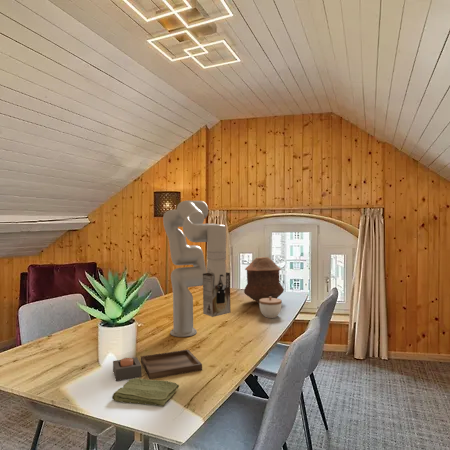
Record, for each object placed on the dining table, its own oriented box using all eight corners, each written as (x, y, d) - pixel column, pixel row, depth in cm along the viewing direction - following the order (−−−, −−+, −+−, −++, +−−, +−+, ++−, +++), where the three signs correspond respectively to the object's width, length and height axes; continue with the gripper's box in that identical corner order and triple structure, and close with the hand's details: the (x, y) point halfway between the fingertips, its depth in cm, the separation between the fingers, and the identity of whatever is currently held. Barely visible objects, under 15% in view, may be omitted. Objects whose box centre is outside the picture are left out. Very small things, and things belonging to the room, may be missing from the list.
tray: (140, 362, 144) (140, 356, 144) (188, 354, 151) (188, 349, 151) (149, 379, 128) (149, 373, 128) (202, 370, 135) (202, 364, 135)
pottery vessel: (283, 308, 227) (282, 259, 227) (241, 307, 232) (241, 259, 231) (284, 299, 253) (283, 255, 252) (246, 298, 257) (246, 255, 257)
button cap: (119, 367, 133) (119, 358, 133) (132, 365, 135) (132, 357, 135) (121, 371, 129) (121, 363, 129) (134, 369, 131) (134, 361, 131)
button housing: (113, 372, 135) (112, 360, 134) (137, 368, 138) (137, 357, 138) (115, 381, 127) (115, 369, 127) (141, 376, 130) (141, 365, 130)
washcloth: (165, 409, 108) (165, 398, 108) (110, 403, 112) (109, 392, 112) (180, 389, 121) (180, 379, 121) (130, 384, 125) (130, 375, 125)
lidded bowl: (279, 319, 202) (279, 299, 202) (256, 318, 206) (256, 298, 206) (283, 314, 214) (283, 295, 214) (262, 312, 218) (261, 293, 218)
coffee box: (220, 310, 152) (220, 270, 152) (230, 313, 147) (230, 272, 147) (202, 313, 146) (202, 273, 146) (212, 317, 142) (212, 275, 141)
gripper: (200, 254, 153) (200, 297, 153) (215, 258, 137) (216, 306, 137) (217, 253, 156) (217, 295, 156) (234, 257, 140) (234, 304, 140)
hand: (216, 300), depth 147 cm, fingers closed on coffee box, 7 cm apart
